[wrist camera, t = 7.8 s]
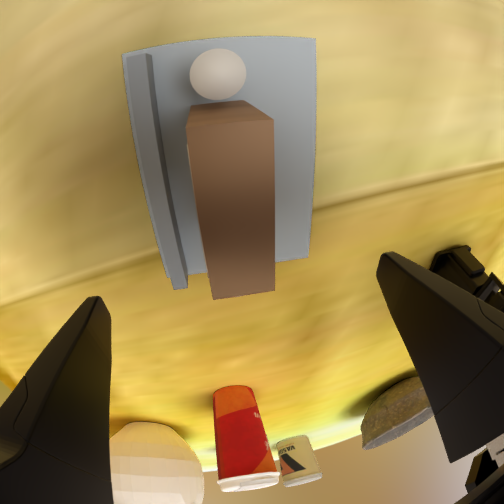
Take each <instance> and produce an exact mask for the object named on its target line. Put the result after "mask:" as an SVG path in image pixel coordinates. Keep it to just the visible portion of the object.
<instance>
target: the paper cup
mask: <svg viewBox="0 0 504 504" xmlns="http://www.w3.org/2000/svg"><path fill="white" fill-rule="evenodd" d="M213 413H214V429H215V443H216V455H217V467H218V477H219V480H218V481H217V484H219V485H220V488H221V490H222V491H225V492H231V491H243V490H253V489H259V488H264V487H268V486H272V485H275V484H277V483H278V482H279V480H278V476H279V475H280V472H277V470H276V467H275V463H274V460H273V457H272V454H271V450H270V447H269V444H268V440H267V437H266V434H265V430H264V427H263V423H262V420H261V417H260V413H259V410H258V406H257V403H256V400H255V396H254V393H253V391H252V389H251V388H249V387H247V386H240V385H236V386H228V387H224V388H221V389H219V390H217V391H216V392H215V393H214V394H213Z"/></svg>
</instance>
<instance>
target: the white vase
mask: <svg viewBox="0 0 504 504" xmlns="http://www.w3.org/2000/svg"><path fill="white" fill-rule="evenodd" d="M109 446H110V468H111V482H112V491H113V500H114V504H202V501H203V496H204V477H203V472H202V467H201V463H200V462H199V460H198V458H197V456H196V454H195V452H194V451H193V450H192V449H191V447H190V446H189V445H188V444H187V442H186V441H185V440H184V439H183V438H182V437H180V436H179V435H178V434H177V433H176V432H175V431H174V430H173V429H172V428H171V427H169V426H166V425H163V424H159V423H152V422H132V423H129V424H127V425H126V426H125V427H123V428H122V429H121V430H120V431H118V432H117V433H116V434H115V435H113V436H112V437H111V438H110V439H109Z"/></svg>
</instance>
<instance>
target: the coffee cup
mask: <svg viewBox="0 0 504 504" xmlns="http://www.w3.org/2000/svg"><path fill="white" fill-rule="evenodd" d="M277 448H278V454H279V460H280V466H281V472H282V478H283V485H285V487H290V486H295V485H300V484H304V483H307V482H311V481H314V480H317V479H320V478H322V473H321V470H320V468H319V465H318V462H317V459H316V457H315V454H314V452H313V449H312V447H311V444H310V442H309V439H308V437H307V436H296V437H291V438H288V439H285V440H282V441H280V442H279V443H277Z"/></svg>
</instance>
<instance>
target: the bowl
mask: <svg viewBox="0 0 504 504" xmlns="http://www.w3.org/2000/svg"><path fill="white" fill-rule="evenodd" d="M433 415H434V414H433V411H432V408H431V406H430V403H429V401H428V398H427V395H426V393H425V390H424V388H423V385H422V383H421V380H420V378H419V377H412V378H408V379H405V380H403V381H401V382H399V383H397V384H395V385H394V386H393V387H391V388H390V389H388V390H387V391H385V392H384V393H383V394H381V395H380V396H379V397H378V398H377V399H376V400H375V401H374V402H373V403H372V404H371V405H370V407H369V409H368V411H367V413H366V414H365V416H364V419H363V421H362V424H361V431H362V437H363V445H362V448H363V449H364V450H365V449H366V450H367V449H372V448H375V447H378V446H380V445H382V444H384V443H387V442H389V441H391V440H394V439H396V438H397V437H400V436H401V435H403V434H405V433H407V432H408V431H410V430H411V429H413V428H415V427H417V426H418V425H420V424H422V423H423V422H425V421H426V420H428V419H429V418H431V417H432V416H433Z"/></svg>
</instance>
